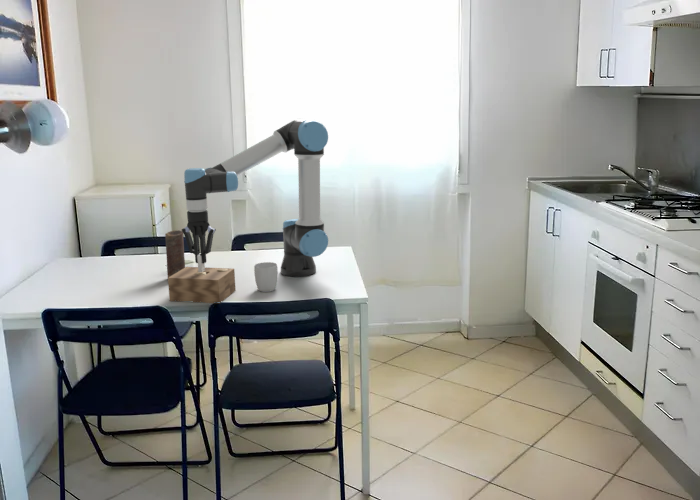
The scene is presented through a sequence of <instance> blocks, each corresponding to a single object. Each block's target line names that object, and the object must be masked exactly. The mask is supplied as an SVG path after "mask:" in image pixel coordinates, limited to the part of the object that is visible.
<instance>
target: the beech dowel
mask: <svg viewBox="0 0 700 500" xmlns="http://www.w3.org/2000/svg"><path fill="white" fill-rule="evenodd" d="M195 275H206V272H197V273H195Z"/></svg>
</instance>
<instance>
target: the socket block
mask: <svg viewBox="0 0 700 500" xmlns="http://www.w3.org/2000/svg"><path fill="white" fill-rule="evenodd" d="M197 272H198V266H185V268H184V269H182V270H180V271H179V272H177V273H175V274H174V275H172V276H170V277H168V276H167V284H168V295H169V302H181V301H193V302H192V303H201V302H203V304H205V303H206V304H215V303H214V302H221V301H222V302H224V301H225V300H226V299H227V298H229V297H230V296H231V295H232V294H234V293H235V292H236V291H237V290H236V275H235V268H232V267H229V268H227V267H225V268H224V267H205V271H203V272H206V275H195V273H197ZM175 300H176V301H175ZM204 302H205V303H204ZM222 302H221V303H222Z"/></svg>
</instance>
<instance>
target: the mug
mask: <svg viewBox="0 0 700 500" xmlns="http://www.w3.org/2000/svg"><path fill="white" fill-rule="evenodd" d="M253 267H254V268H253V271H254V279H255V284H256V287H257V290H258V291H259V292H263V293H265V292H266V293H268V292H274V291H275V290H276V288H277V285H278V273H279V271H278V264H277V263H275V262H270V261H267V262H265V261H264V262H259V263H255V264H254V266H253Z"/></svg>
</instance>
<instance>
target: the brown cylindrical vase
mask: <svg viewBox="0 0 700 500" xmlns="http://www.w3.org/2000/svg"><path fill="white" fill-rule="evenodd" d="M165 251H166V253H165V254H166V269H167V271H166V272H167V273H166V274H167V278H168V277H170V276H172V275H174V274H175V273H177V272H179V271H180V270H182V269H184V268H185V267H186V259H185V244H184V233H183V232H182V230H178V229H176V230H170V231H167V232H166V233H165Z"/></svg>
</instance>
